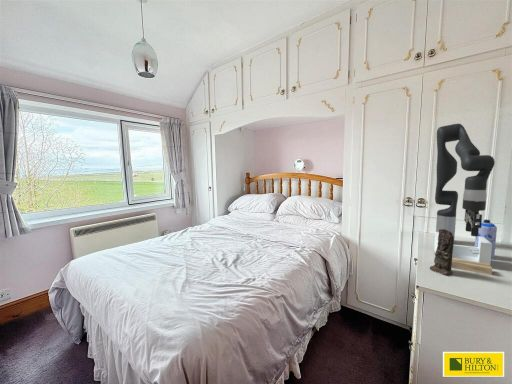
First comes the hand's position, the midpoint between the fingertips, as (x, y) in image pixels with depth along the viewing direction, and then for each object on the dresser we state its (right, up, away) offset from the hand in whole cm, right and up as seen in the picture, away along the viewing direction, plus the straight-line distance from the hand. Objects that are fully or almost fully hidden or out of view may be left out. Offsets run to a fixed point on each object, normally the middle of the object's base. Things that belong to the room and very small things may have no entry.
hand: (471, 233), depth 101 cm
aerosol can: (+22, -15, +15) cm, 31 cm away
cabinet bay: (+6, -16, +12) cm, 21 cm away
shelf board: (0, -17, +2) cm, 18 cm away
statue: (-14, -18, 0) cm, 22 cm away
